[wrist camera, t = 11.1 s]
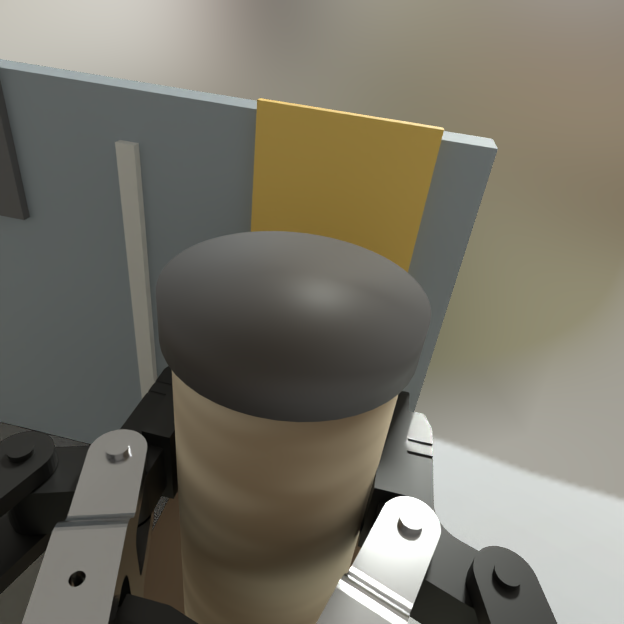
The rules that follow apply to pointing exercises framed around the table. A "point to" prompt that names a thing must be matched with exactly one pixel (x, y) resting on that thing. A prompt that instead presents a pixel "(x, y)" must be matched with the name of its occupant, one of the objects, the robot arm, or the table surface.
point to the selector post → (280, 412)
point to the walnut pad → (171, 559)
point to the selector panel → (189, 220)
